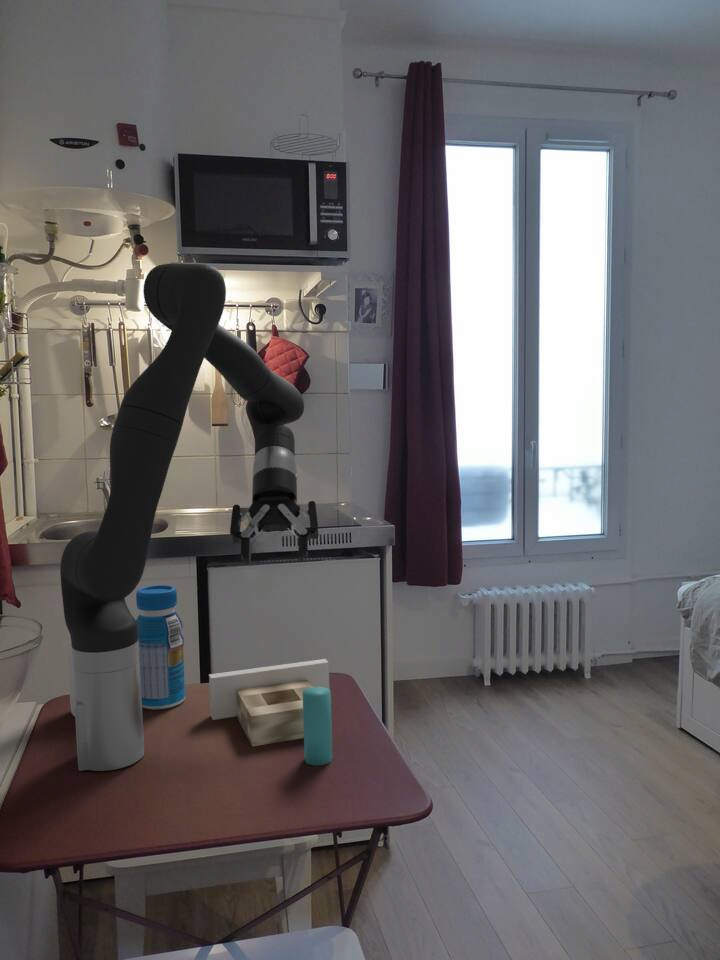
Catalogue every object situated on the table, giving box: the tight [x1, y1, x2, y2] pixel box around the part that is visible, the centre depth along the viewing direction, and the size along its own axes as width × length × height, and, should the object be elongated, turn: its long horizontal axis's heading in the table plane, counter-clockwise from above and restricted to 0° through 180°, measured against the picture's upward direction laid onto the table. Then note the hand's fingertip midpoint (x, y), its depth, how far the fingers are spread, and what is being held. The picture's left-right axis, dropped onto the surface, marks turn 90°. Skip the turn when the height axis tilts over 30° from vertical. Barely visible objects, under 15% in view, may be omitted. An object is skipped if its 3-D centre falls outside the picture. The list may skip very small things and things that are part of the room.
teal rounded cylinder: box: [302, 687, 333, 766], centre depth 113 cm, size 4×4×10 cm
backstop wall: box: [208, 658, 330, 721], centre depth 133 cm, size 20×2×7 cm, turn 109°
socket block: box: [236, 680, 313, 747], centre depth 126 cm, size 12×12×5 cm
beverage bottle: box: [135, 584, 186, 710], centre depth 136 cm, size 8×8×20 cm
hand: (274, 560), depth 126 cm, fingers open, 8 cm apart
